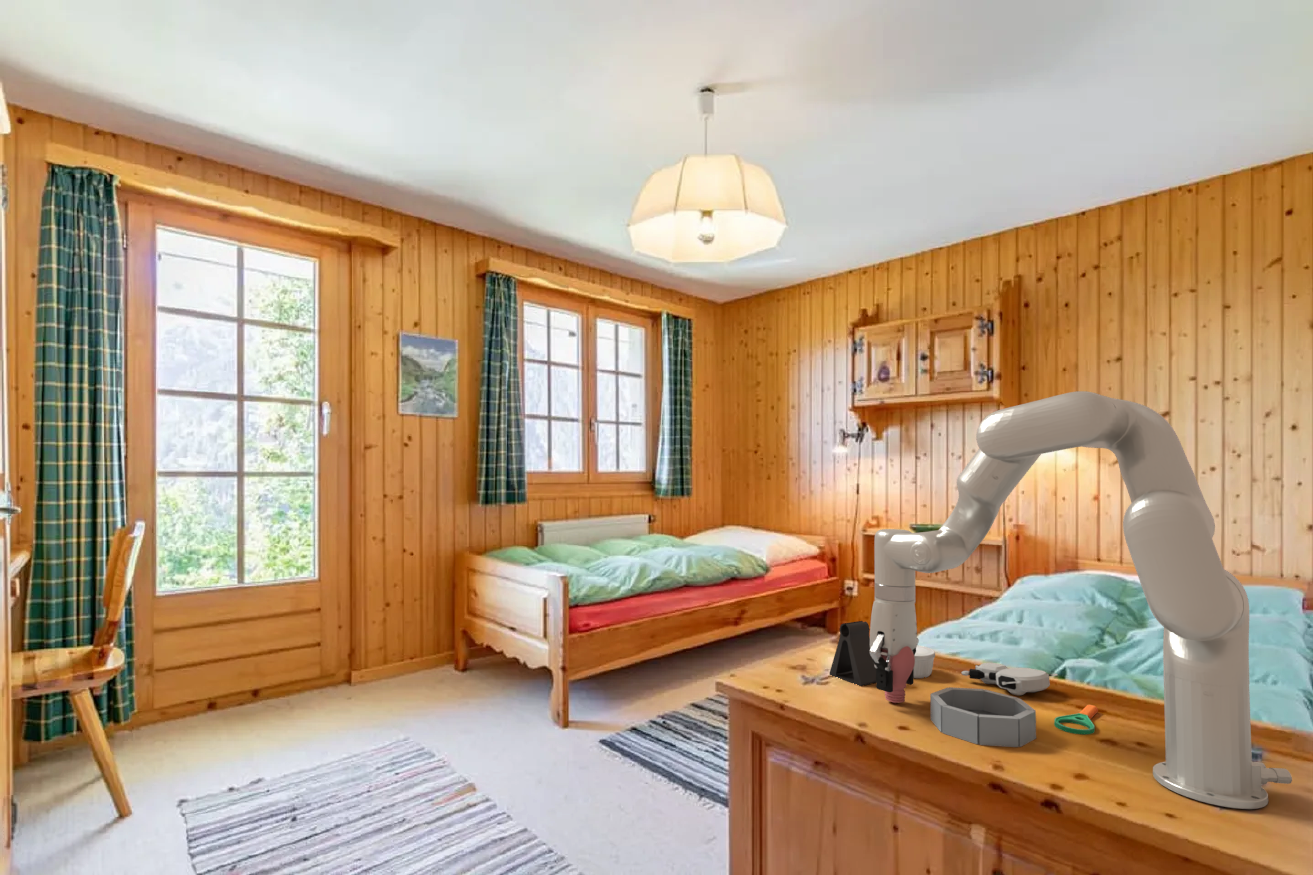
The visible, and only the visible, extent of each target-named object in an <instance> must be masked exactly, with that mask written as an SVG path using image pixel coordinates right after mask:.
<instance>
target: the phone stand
mask: <svg viewBox="0 0 1313 875" xmlns="http://www.w3.org/2000/svg"><path fill="white" fill-rule="evenodd" d="M874 665H875V664H874V662H873V659H872V657H871V655H870V625H869V623H868V622H867V621H863V620H861V621H860V620H858V621H853V622H846V623H845V622H843V623H842V624H840V626H839V639H838V642H837V646H836V649H835V654H834V656H833V660H832V663H831V666H830V670H829V676H830V675H832V676H831V677H833V676H835V677H834V678H836V677H838V678H837V679H839V678H840V679H839V680H841V679H842V681H845V682H848V683H850V684H853V683H854V684H853V685H855V684H857V685H856V686H858V685H859V687H863V685H864V686H867V685H871V683H873V684H876V668H875V666H874Z"/></svg>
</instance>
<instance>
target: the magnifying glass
mask: <svg viewBox="0 0 1313 875" xmlns="http://www.w3.org/2000/svg"><path fill="white" fill-rule="evenodd" d="M1097 713H1099V708H1098V707H1097V706H1096V705H1093V704H1087V705H1086V706H1085V707H1084V708H1083V709H1082V710H1080V711H1079V712H1078V713H1074V714H1073V713H1072V714H1067V715H1065V714H1064V715H1060V716H1057V717H1055V718H1054V720H1053V721H1054V722H1053V726H1054V727H1055V728H1057V729H1058V730H1060V731H1062V732H1066V733H1070V734H1075V735H1082V736H1083V735H1091V734H1094V733H1095V730H1096V729H1095V728H1096V727H1095V724H1094V723H1093V722H1092V720H1091V719H1093V717H1094V716H1095V715H1096V714H1097ZM1063 723H1065V724H1069V723H1070V724H1075V725H1079V726H1083V727H1085V728H1086V729H1083V728H1082V729H1081V728H1079V729H1078V728H1072V727H1069V726H1065V725H1063Z"/></svg>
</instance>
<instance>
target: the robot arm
mask: <svg viewBox="0 0 1313 875" xmlns="http://www.w3.org/2000/svg"><path fill="white" fill-rule="evenodd" d="M975 436H976V437H975V439H976V444H977V446H978V449H977V451H976V452H975V453H974V455H973V456H972V457H971V459H970V460H969V461H968V463H967V464H966V465H965V467H964V468H963V470H961V472H960V473H959V475H958V476H957V478H956V487H957V491H958V492H957V493H958V497H957V498H958V499H957V502H956V505H955V506H954V507H953V510H952V512H951V513H950V515H949V516H948V517H947V519H946V520H945V521H944V523H942V525H941V526H940V528H939V529H937V530H930V531H923V532H912V531H910V530H906V529H899V528H898V529H897V528H885V529H884V528H883V529H879V530H877V531H876V532H875V534H874V600H873V604H872V608H871V609H872V610H871V616H870V625H869V628H870V630H869V637H870V655H871V657H872V659H873V662H874V664H875V665H874V666H875V668H876V683H875V687H876V689H877V690H880V691H882V692H885V691H886V692H893V671H891V670H890V669H891V665H892V661H893V656H895V655H898V653H899V652H900V650H901V649H902V648H904V647H906V646H908V647H910V649H911V650H912V652H913V654H914V655H915V653H916V647H917V645H919V641H920V640H919V638H918V628H917V627H918V626H917V624H918V623H917V614H916V605H915V604H916V572H919V573H924V574H934V573H939V572H943V571H947V570H952V569H955V568H958V567H960V566H961V565H963V564H964V563H965V562H966V561H967V560H968V559H969V558H970V557H971V555H972V554H973V553H974V551H976V549H977V548H978V547H979V545H980V544H981V543H982V542H983V540H984V539H985V537H986V536H987V534H989V532H990V530H991V528H992V526H993V525H994V522H995V520H996V518H997V516H998V514H999V511H1000V508H1001V507H1002V506H1003V504H1004V502H1005V501H1006V500H1007V498H1008V497H1009V496H1010V495H1011V494H1012V492H1013V490H1014V489H1015V488H1016V486H1017V485H1018V484H1020V482H1021V480H1022V479H1023V478H1024V476H1026V474H1027V473H1028V472H1029V470H1031V468H1032V467H1033V466H1034V464H1035V463H1036V461H1037V460H1039V458H1040V456H1041V455H1043V454H1048V453H1053V452H1058V451H1062V450H1068V449H1075V448H1081V447H1082V448H1088V449H1089V448H1092V449H1106V450H1109V451H1111V453H1113V455H1114V456H1115V457H1116V459H1117V464H1118V468H1119V472H1120V475H1121V478H1122V480H1123V482H1124V484H1125V486H1126V489H1127V492H1128V495H1129V499H1130V502H1131V503H1130V504H1129V505H1128V507H1127V508H1126V511H1125V512H1124V516H1123V518H1122V519H1123V521H1122V527H1123V529H1122V530H1123V534H1124V540H1125V543H1126V545H1127V549H1128V551H1129V555H1130V558H1131V559H1132V563H1133V564H1134V565H1133V566H1134V569H1135V572H1136V574H1137V576H1138V580H1139V582H1140V586H1141V589H1142V591H1143V594H1144V597H1145V600H1146V602H1147V605H1148V607H1149V609H1150V611H1151V614H1152V615H1153V617H1154V618H1155V620H1156V621H1157V622H1158V623H1159V625H1161V626H1162V628H1163V640H1162V642H1163V644H1162V645H1163V647H1162V653H1163V654H1162V655H1163V656H1162V657H1163V658H1162V660H1163V663H1162V664H1163V665H1162V666H1163V698H1164V699H1163V700H1164V702H1163V704H1164V706H1163V707H1164V708H1163V709H1164V737H1165V738H1164V742H1165V747H1164V748H1165V761H1162V762H1161V761H1160V762H1158V763H1156V764H1154V765H1153V766H1152V775H1153V779H1155V780H1156V781H1157V782H1158V783H1159V784H1160V785H1161V786H1164V787H1165V788H1166V789H1169V790H1170V791H1172V792H1174V793H1177V794H1179V795H1182V796H1184V797H1186V798H1190V799H1192V800H1194V801H1195V800H1196V801H1199V802H1203V803H1206V804H1210V805H1212V806H1213V805H1214V806H1218V807H1223V808H1224V807H1225V808H1229V809H1230V808H1231V809H1237V810H1238V809H1239V810H1255V809H1257V810H1258V809H1261V808H1264V807H1266V806H1267V805H1268V803H1269V793H1268V792H1267V790H1266V789H1265V788H1264V787H1262V785H1267V784H1268V783H1274V784H1284V785H1285V784H1287V785H1290V784H1291V783H1292V782H1293V776H1292V774H1291V772H1290V771H1289V770H1288V769H1287V768H1282V767H1281V768H1279V767H1267V766H1266V765H1265V763H1263V762H1257V761H1253V760H1252V758H1253V756H1252V733H1251V732H1252V731H1251V730H1252V727H1251V702H1250V698H1251V697H1250V656H1249V655H1250V652H1249V651H1250V648H1249V647H1250V643H1249V642H1250V636H1249V635H1250V601H1249V598H1248V594H1247V591H1246V589H1245V587H1244V586H1243V584H1242V583H1241V582H1240V580H1239V579H1238V578H1237V577H1236V576H1235V575H1233V574H1232V573H1231V572H1230V571H1228V570H1227V569H1225V568H1224V566H1223V564H1222V561H1221V559H1220V555H1219V553H1218V551H1217V548H1216V546H1215V542H1214V540H1213V537H1214V535H1215V532H1216V531H1215V530H1216V524H1215V518H1214V517H1213V513H1212V512H1211V510H1210V509H1209V507H1208V504H1207V502H1206V500H1205V498H1204V495H1203V493H1202V490H1201V487H1200V485H1199V482H1198V480H1197V478H1196V475H1195V473H1194V470H1193V468H1192V467H1191V464H1190V462H1189V460H1188V457H1187V455H1186V452H1185V451H1184V447H1183V445H1182V443H1181V441H1180V439H1179V437H1178V435H1177V433H1176V431H1175V430H1174V428H1173V427H1172V425H1171V424H1170V422H1168V420H1166V418H1165V417H1164V416H1162V415H1161V414H1159V412H1157V411H1155V410H1154V409H1152V408H1150V407H1148V406H1147V405H1144V404H1141V403H1138V402H1134V401H1131V400H1125V399H1121V398H1120V399H1119V398H1114V397H1110V396H1108V395H1102V394H1099V393H1096V392H1092V391H1087V390H1086V391H1084V390H1083V391H1082V390H1081V391H1079V390H1078V391H1071V392H1066V393H1062V394H1058V395H1053V396H1050V397H1046V398H1042V399H1039V400H1033V401H1030V402H1026V403H1022V404H1019V405H1018V404H1017V405H1014V406H1009V407H1005V408H1001V409H999V410H995V411H993V412H992V413H989V414H988V415H987V416H985V418H983V419H982V420H981V421H980V423H979V425H978V427H977V430H976V434H975ZM882 650H888V653H886V652H882ZM882 656H886V657H887V661H885V660H884V658H883V657H882ZM914 658H915V657H914ZM914 680H915V678H914V668H913V670H912V672H911V674H910V676H909V678H908V679H907V681H906V685H910V686H911V685H913V684H914V683H915V682H914Z"/></svg>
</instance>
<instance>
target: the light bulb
mask: <svg viewBox="0 0 1313 875" xmlns="http://www.w3.org/2000/svg"><path fill="white" fill-rule="evenodd" d="M882 652H886V653H888V650H882ZM882 657H883V658H884V660H885V661H887V657H886V656H882ZM914 665H915V658H914V654H913V652H912V650H911V649H910V647H908V646H906V647H904V648H902V649H901V650H900V652H899V653H898V655H895V656H893V661H892V665H891V669H890V670H891V671H893V692H886V691H884V696H885V697H884V698H885V700H886V701H888V702H892V704H898V703H904V702H906V699H905V698H906V690H905V689H906V688H907V684H906V681H907V679H908V678H909V676H910V674H911V672H912V670H913V668H914Z"/></svg>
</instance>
